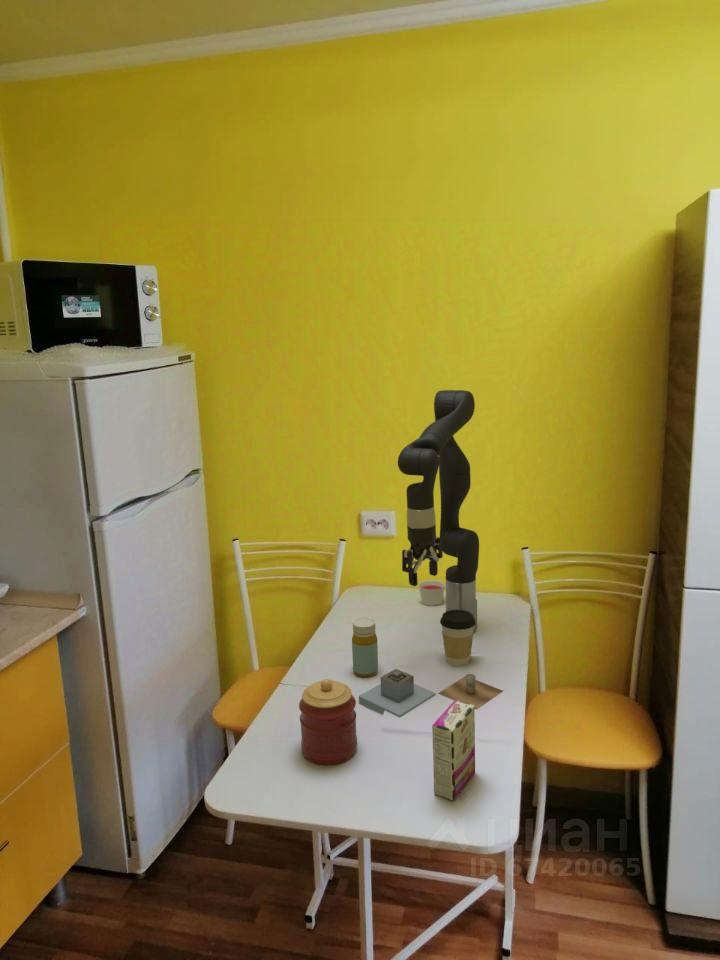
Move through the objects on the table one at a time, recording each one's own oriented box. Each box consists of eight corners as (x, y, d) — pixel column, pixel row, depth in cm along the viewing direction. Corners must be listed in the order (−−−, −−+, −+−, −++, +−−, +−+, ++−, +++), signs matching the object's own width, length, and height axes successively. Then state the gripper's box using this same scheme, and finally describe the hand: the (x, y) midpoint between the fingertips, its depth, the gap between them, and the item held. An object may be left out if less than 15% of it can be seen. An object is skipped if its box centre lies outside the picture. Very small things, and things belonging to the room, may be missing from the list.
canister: (304, 733, 174) (300, 666, 170) (358, 733, 173) (356, 665, 169) (298, 766, 161) (294, 695, 157) (356, 766, 160) (353, 694, 156)
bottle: (348, 675, 201) (346, 625, 197) (360, 664, 207) (358, 615, 203) (371, 680, 198) (369, 629, 194) (382, 669, 204) (381, 619, 200)
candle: (419, 597, 254) (419, 580, 253) (445, 597, 253) (444, 580, 252) (418, 607, 245) (418, 589, 244) (445, 607, 244) (445, 590, 243)
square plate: (394, 682, 196) (394, 655, 194) (435, 700, 186) (435, 671, 185) (358, 703, 186) (357, 674, 185) (400, 722, 177) (399, 693, 175)
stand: (465, 681, 196) (465, 660, 194) (503, 696, 187) (503, 674, 186) (438, 698, 187) (437, 677, 186) (476, 715, 179) (476, 693, 178)
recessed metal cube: (396, 686, 190) (395, 668, 189) (413, 693, 186) (413, 676, 185) (380, 695, 186) (380, 677, 185) (398, 703, 182) (398, 684, 181)
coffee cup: (482, 663, 205) (482, 614, 201) (462, 677, 198) (462, 626, 194) (453, 653, 211) (453, 605, 208) (433, 666, 204) (432, 616, 201)
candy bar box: (454, 766, 159) (454, 698, 156) (475, 772, 157) (476, 704, 153) (432, 794, 150) (431, 723, 146) (454, 802, 148) (453, 730, 144)
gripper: (426, 513, 198) (429, 569, 202) (392, 527, 188) (395, 585, 192) (449, 518, 193) (450, 574, 197) (415, 532, 183) (417, 592, 187)
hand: (423, 580), depth 194 cm, fingers open, 8 cm apart
